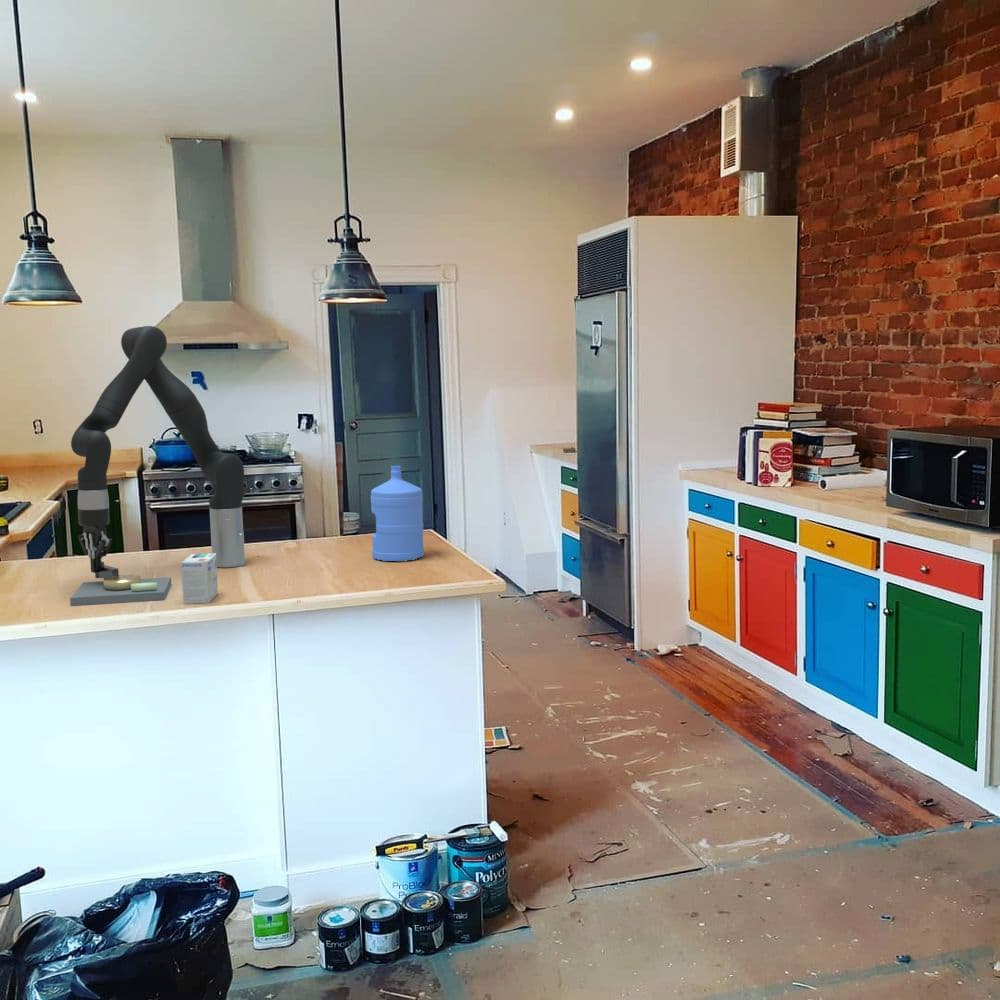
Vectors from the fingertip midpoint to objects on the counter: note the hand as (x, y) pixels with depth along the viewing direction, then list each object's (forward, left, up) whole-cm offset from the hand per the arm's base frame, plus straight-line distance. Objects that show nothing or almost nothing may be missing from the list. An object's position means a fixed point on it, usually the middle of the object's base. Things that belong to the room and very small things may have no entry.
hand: (96, 572), depth 254 cm
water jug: (-82, -22, -5) cm, 85 cm away
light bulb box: (-27, +17, -5) cm, 32 cm away
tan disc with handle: (-5, +3, -3) cm, 6 cm away
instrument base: (-7, +7, -5) cm, 11 cm away
